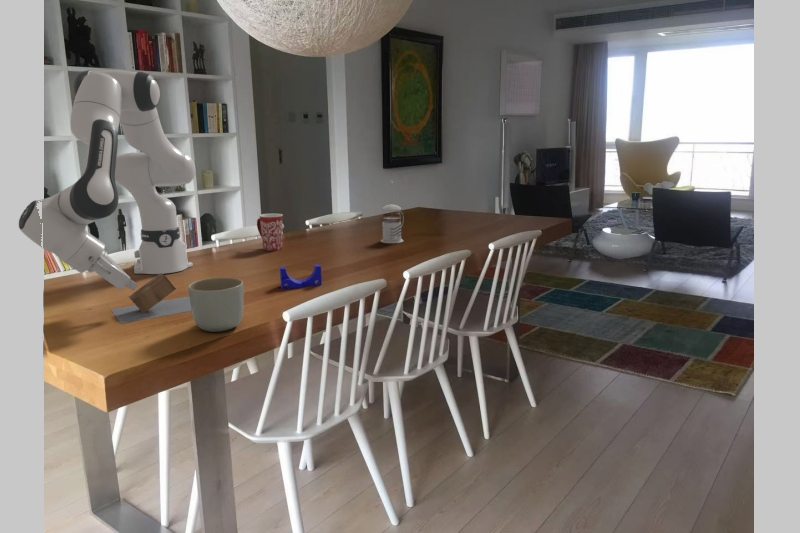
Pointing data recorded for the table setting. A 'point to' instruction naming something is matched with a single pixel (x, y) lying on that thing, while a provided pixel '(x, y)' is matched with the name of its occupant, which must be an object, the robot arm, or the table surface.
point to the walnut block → (152, 292)
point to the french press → (392, 224)
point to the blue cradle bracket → (299, 283)
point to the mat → (153, 310)
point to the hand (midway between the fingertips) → (134, 286)
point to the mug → (270, 231)
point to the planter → (217, 303)
